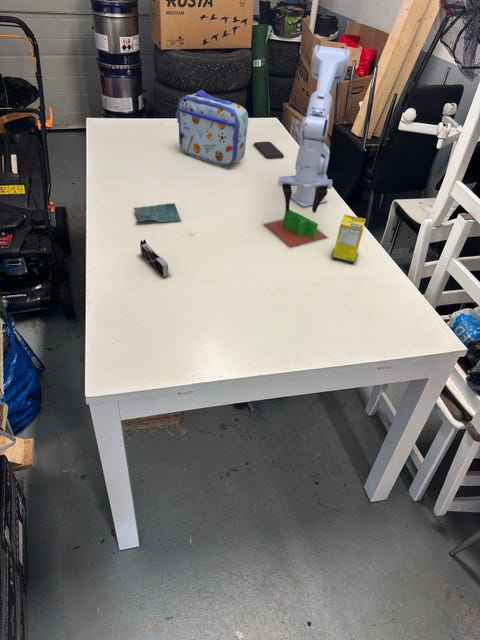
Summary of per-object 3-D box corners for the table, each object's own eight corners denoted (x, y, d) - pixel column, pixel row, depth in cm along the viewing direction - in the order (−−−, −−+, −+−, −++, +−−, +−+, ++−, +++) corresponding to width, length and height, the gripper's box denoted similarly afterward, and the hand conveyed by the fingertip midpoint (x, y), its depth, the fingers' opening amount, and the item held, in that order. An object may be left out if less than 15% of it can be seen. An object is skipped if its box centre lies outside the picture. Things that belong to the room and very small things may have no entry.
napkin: (299, 216, 143) (299, 215, 143) (326, 237, 134) (326, 236, 134) (264, 224, 137) (264, 223, 137) (290, 247, 129) (290, 246, 129)
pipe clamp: (277, 226, 137) (279, 212, 134) (285, 222, 139) (287, 208, 136) (307, 241, 131) (309, 227, 128) (315, 237, 133) (318, 223, 130)
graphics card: (141, 256, 121) (135, 242, 117) (149, 252, 122) (143, 237, 118) (163, 279, 114) (158, 264, 110) (172, 273, 115) (167, 259, 111)
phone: (270, 141, 187) (284, 155, 177) (269, 143, 188) (284, 157, 177) (253, 142, 185) (266, 156, 174) (252, 144, 185) (266, 158, 175)
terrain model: (175, 208, 141) (175, 202, 139) (180, 221, 135) (180, 216, 134) (132, 212, 137) (132, 206, 136) (136, 226, 132) (136, 220, 131)
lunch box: (171, 152, 174) (170, 89, 159) (188, 144, 181) (188, 83, 166) (232, 172, 164) (236, 107, 149) (247, 163, 171) (253, 100, 156)
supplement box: (356, 253, 129) (366, 218, 122) (353, 264, 125) (363, 228, 117) (335, 248, 130) (344, 213, 123) (332, 259, 126) (340, 223, 119)
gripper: (282, 168, 118) (276, 215, 127) (338, 171, 119) (327, 218, 128) (280, 157, 124) (274, 203, 132) (333, 160, 124) (323, 206, 133)
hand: (300, 210), depth 131 cm, fingers open, 7 cm apart
